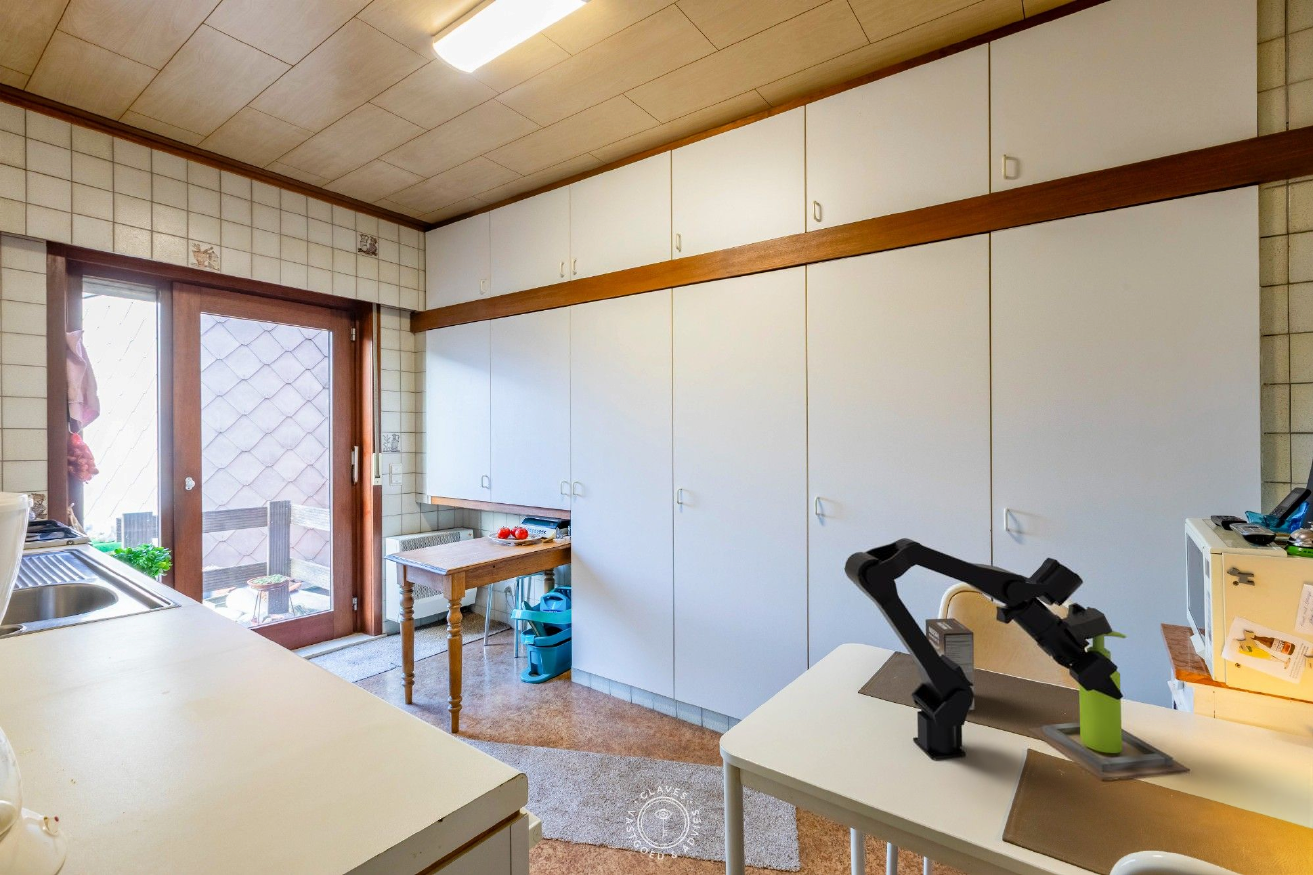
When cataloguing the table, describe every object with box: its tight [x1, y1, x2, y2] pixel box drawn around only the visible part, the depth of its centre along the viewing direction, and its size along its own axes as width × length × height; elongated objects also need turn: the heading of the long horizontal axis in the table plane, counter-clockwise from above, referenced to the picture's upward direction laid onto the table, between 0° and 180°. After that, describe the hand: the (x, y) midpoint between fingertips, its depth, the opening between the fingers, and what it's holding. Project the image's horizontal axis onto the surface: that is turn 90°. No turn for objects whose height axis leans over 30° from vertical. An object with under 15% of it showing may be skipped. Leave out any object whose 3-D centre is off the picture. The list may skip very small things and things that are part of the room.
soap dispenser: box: [1078, 630, 1127, 753], centre depth 105 cm, size 6×7×20 cm
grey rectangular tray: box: [1028, 721, 1191, 781], centre depth 106 cm, size 16×16×2 cm
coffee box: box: [925, 617, 975, 711], centre depth 126 cm, size 9×6×16 cm
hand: (1111, 690), depth 105 cm, fingers closed on soap dispenser, 6 cm apart
